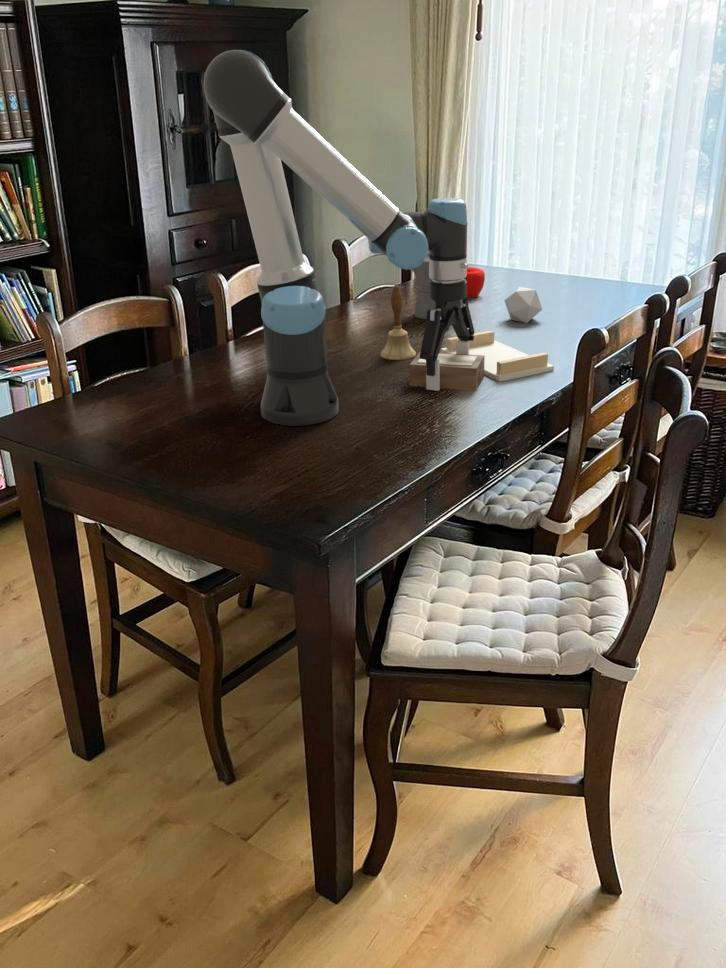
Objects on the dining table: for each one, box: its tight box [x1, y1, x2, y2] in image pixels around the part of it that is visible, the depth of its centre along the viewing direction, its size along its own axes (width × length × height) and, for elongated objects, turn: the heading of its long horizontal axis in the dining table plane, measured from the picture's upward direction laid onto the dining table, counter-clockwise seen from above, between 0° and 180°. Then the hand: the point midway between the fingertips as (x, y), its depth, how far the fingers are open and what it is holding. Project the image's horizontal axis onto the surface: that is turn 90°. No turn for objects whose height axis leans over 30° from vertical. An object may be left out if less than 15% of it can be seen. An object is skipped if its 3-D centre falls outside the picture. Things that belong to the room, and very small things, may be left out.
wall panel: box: [440, 330, 555, 382], centre depth 200 cm, size 14×24×4 cm, turn 26°
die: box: [504, 286, 543, 324], centre depth 229 cm, size 8×9×10 cm
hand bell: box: [379, 285, 417, 361], centre depth 204 cm, size 8×8×16 cm
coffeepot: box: [411, 252, 436, 320], centre depth 235 cm, size 15×9×18 cm, turn 103°
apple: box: [464, 266, 486, 299], centre depth 253 cm, size 9×9×8 cm
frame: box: [409, 352, 485, 391], centre depth 189 cm, size 9×14×5 cm, turn 73°
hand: (448, 380), depth 189 cm, fingers open, 13 cm apart
